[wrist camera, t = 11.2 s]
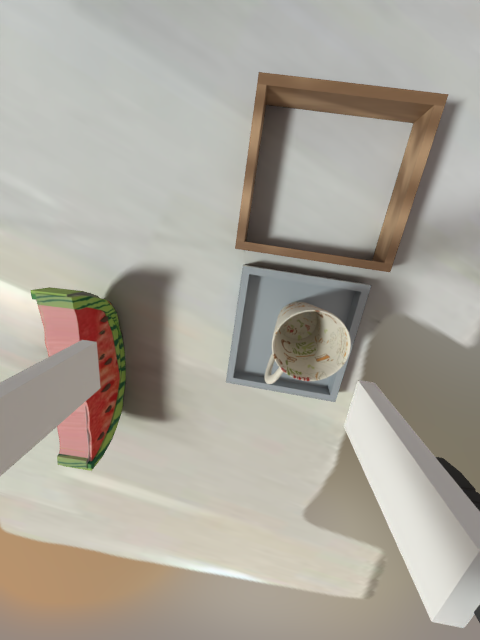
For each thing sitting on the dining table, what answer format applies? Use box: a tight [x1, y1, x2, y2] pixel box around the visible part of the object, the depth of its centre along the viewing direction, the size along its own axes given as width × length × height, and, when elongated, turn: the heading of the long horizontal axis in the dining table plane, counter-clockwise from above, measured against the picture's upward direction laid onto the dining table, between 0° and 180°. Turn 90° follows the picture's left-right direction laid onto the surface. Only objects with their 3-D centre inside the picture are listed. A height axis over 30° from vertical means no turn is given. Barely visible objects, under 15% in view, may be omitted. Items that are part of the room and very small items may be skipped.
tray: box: [226, 265, 371, 402], centre depth 35 cm, size 18×17×2 cm
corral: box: [235, 72, 448, 272], centre depth 29 cm, size 18×20×4 cm
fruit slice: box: [31, 288, 126, 471], centre depth 35 cm, size 26×6×10 cm, turn 174°
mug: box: [265, 302, 351, 384], centre depth 31 cm, size 8×13×10 cm, turn 150°
